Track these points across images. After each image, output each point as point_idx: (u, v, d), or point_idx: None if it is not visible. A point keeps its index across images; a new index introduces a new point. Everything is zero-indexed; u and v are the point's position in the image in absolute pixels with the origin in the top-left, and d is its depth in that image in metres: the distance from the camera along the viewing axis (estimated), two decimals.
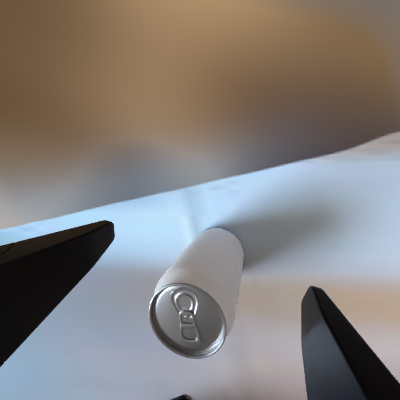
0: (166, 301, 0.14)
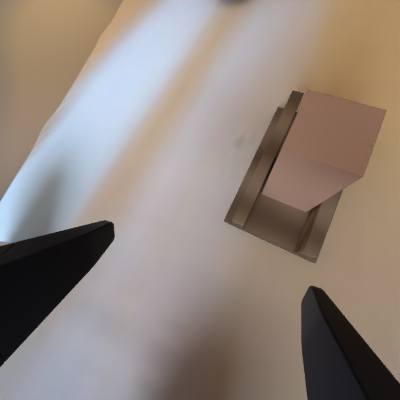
0: None
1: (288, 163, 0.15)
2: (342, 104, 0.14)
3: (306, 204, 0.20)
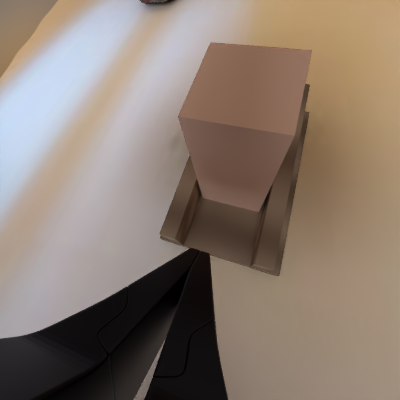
0: None
1: (201, 141, 0.10)
2: (255, 51, 0.10)
3: (253, 201, 0.15)
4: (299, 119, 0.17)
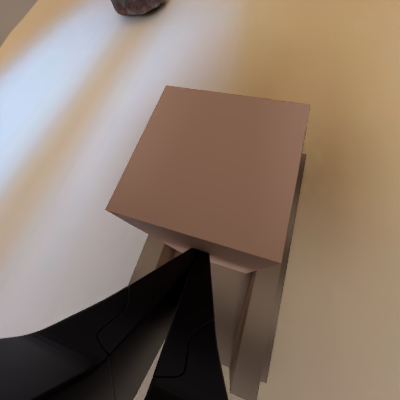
0: None
1: (151, 229, 0.07)
2: (228, 103, 0.07)
3: (237, 268, 0.12)
4: None
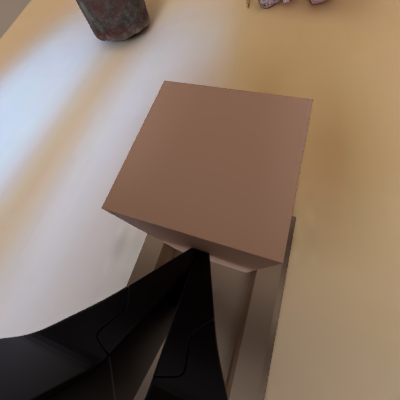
0: None
1: (149, 228, 0.07)
2: (228, 98, 0.07)
3: (237, 268, 0.12)
4: None
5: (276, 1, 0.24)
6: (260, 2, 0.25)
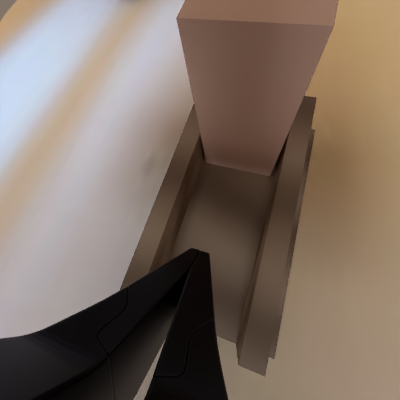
0: None
1: (205, 63, 0.08)
2: None
3: (264, 159, 0.13)
4: (302, 146, 0.12)
5: None
6: None
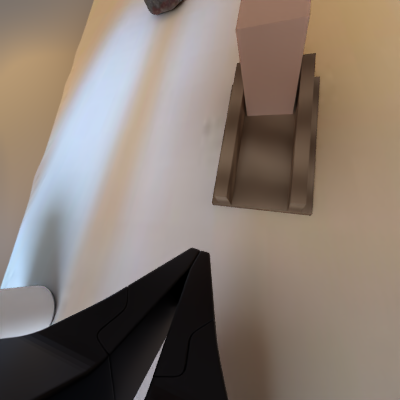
0: None
1: (249, 47, 0.17)
2: None
3: (287, 100, 0.21)
4: (310, 85, 0.20)
5: None
6: None
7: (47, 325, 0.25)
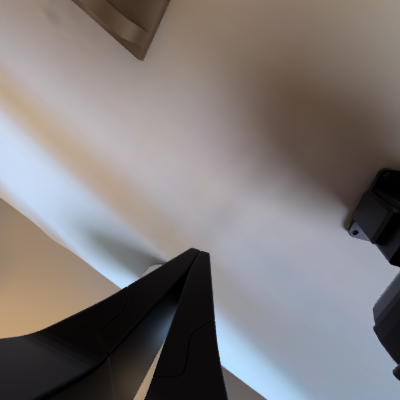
0: None
1: None
2: None
3: None
4: None
5: None
6: None
7: None
